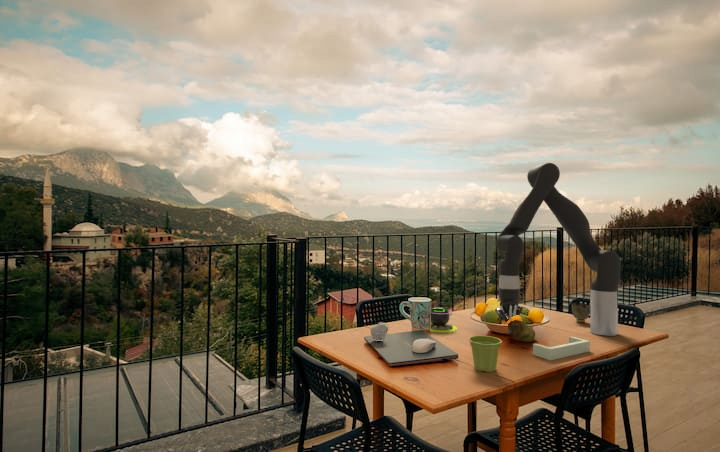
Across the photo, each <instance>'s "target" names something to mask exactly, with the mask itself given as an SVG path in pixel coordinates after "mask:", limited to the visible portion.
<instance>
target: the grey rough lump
mask: <svg viewBox="0 0 720 452" xmlns="http://www.w3.org/2000/svg"><path fill="white" fill-rule="evenodd" d="M369 330H370V335H371V338H372V339H373V340H374V339H376V340H382V339H385V338H386V335H387V333H388V331H389V326H388V325H387V324H386V322H381V321H380V322H378V323H377V324H376V325H373V326H372V327H371V328H370V329H369Z"/></svg>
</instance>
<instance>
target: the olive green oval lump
mask: <svg viewBox="0 0 720 452" xmlns="http://www.w3.org/2000/svg"><path fill="white" fill-rule="evenodd" d="M508 330H509V332H508V333H509V336H510V337H513V338H514V339H515V340H516V339H517V340H520V341H521V342H525V343H529V342H532V341H534V340H535V338H536V332H535V330H534V328H532V327H531V326H529V325H528V324H527V323H526V322H524V321H522V320H518V319H517V320H514V321H511V322H510V323H509V324H508Z"/></svg>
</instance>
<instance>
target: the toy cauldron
mask: <svg viewBox="0 0 720 452" xmlns="http://www.w3.org/2000/svg"><path fill="white" fill-rule="evenodd" d="M441 301H442V300H441ZM435 303H436V304H437V303H438V302H437V301H435ZM443 303H444V301H442V302H441V304H443ZM433 307H434V308H433ZM433 307H432V308H431V309H432V313H431V322H430V323H431V330H430V331H429V332H432V333H452V332H456V331H458V327H457V326H455V325H452V324H449V321H450V316H452V315H453V314H452V313H454V312H453V310H451V309H447V308H444V307H443V306H441V307H436V306H433Z"/></svg>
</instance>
